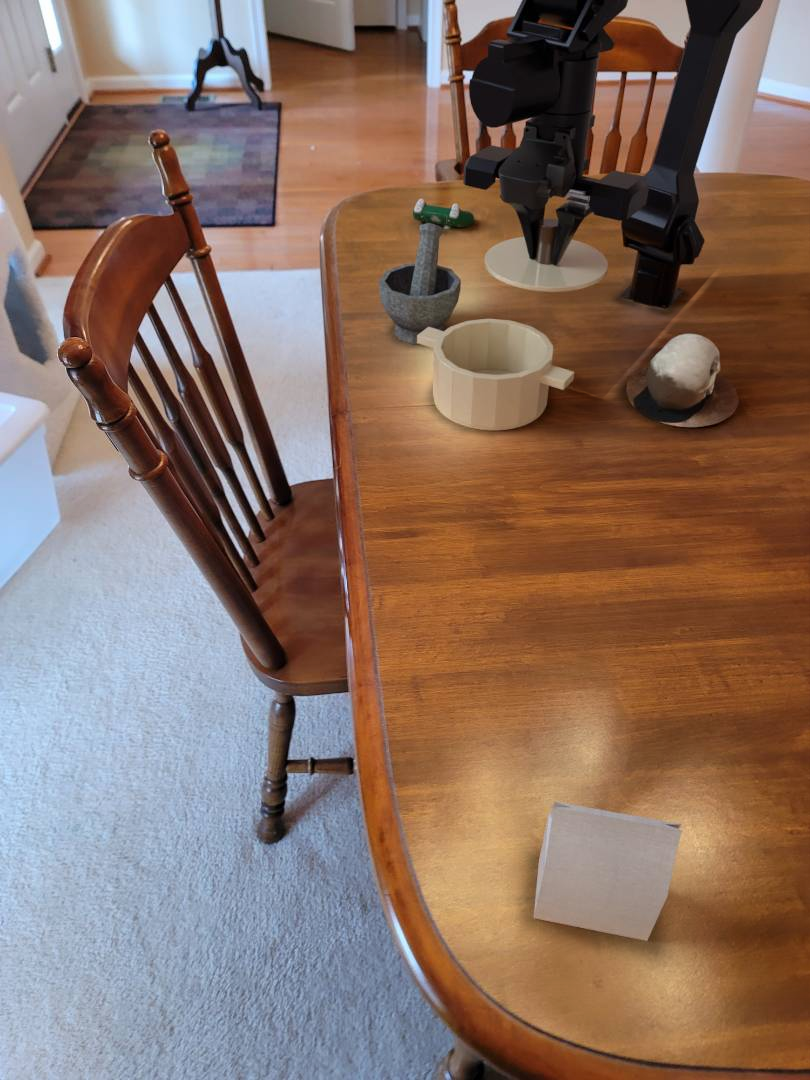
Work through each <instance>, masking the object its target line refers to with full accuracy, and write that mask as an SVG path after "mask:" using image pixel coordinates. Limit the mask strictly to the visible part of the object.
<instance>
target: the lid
mask: <svg viewBox="0 0 810 1080" xmlns="http://www.w3.org/2000/svg"><path fill="white" fill-rule="evenodd" d="M557 226H558V219H556V218H544V219H542V220H540V222H539V229H538V238H537V247H536V257H535V259H530V258H529V254H528V250H527V246H526V242H525V238H524V236H520V237H519V236H518V237H513V238H509V239H505V240H502V241H501V242H498V243H496V244H494V245H492V246H491V247H490V248H489V249H488V250H487V251H486V253H485V255H484V262H483V263H484V267H485V269H486V271H487V272H488V273H489V274H490V276H492V277H493V278H494V279H496V280H498V281H500V282H502V283H504V284H507V285H509V286H512V287H515V288H519V289H523V290H529V291H533V292H534V291H535V292H547V293H560V292H561V293H562V292H572V291H576V290H577V291H578V290H582V289H586V288H589V287H591V286H594V285H596V284H598V283H599V282H601V281H602V280H603V279H604V278H605V277H606V275H607V274H608V270H609V262H608V260H607V257H606V256H605V255H604V254H603V253H602V252H601V251H600V250H598V249H597V248H595V247H593V246H591V245H589V244H587V243H584V242H581V241H578V240H575V239H572V240H571V242H570V243H569V245H568V247H567V249H566V251H565V253H564V255H563V256H562V258H561V260H560V262H559V263H558V264H557V265H552V255H553V248H554V242H555V237H556V231H557Z"/></svg>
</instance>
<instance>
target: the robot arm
mask: <svg viewBox="0 0 810 1080" xmlns="http://www.w3.org/2000/svg"><path fill="white" fill-rule="evenodd" d="M684 2H685V7H686V11H687V17H688V21H689V26H690V28H689V33H688V35H687V39H686V43H685V46H684V50H683V54H682V58H681V61H680V64H679V68H678V72H677V76H676V78H675V82H674V87H673V91H672V93H671V97H670V101H669V103H668V108H667V112H666V114H665V119H664V123H663V125H662V126H663V127H662V128H661V129H662V130H661V134H660V137H659V139H658V144H657V147H656V151H655V154H654V159H653V162H652V164H651V166H650V168H649V170H647V172H646V173H645V174H644V175H640V174H634V173H629V172H626V171H620V170H615V169H613V170H612V171H610V172H609V173H607V174H606V175H604V176H603V177H601V178H600V179H599V178H594V177H590V176H586V175H583V173H584V172H585V171H586V170H588V169H589V164H590V163H589V162H590V158H588V157H586V153H587V147H588V146H587V145H588V137H589V131H590V129H592V128H593V127H595V121H596V114H592V108H593V103H594V102H593V101H594V94H595V86H596V80H597V73H598V72H597V71H598V65H599V57H600V53H605V52H608V51H612V50H613V49H614V48H615V41H614V40H613V39H612V37H611V36H610V35H609V34H608V33H607V32H606V30H605V27H606V26H607V25H609V24H610V23H611V22H612V21H613V20H615V18H616V17H618V16H619V15H620V14H621V13H622V12H623V11H624V10H625V9H626V8H627V6H628V3H629V0H521V2H520V4H519V6H518V8H517V9H516V12H515V15H514V16H513V19H512V20H511V23H510V24H509V27H508V28H507V31H506V38H507V39H506V40H503V39H494V40H490V41H489V42H488V43H487V56H486V57H484V58H483V59H481V60H480V61H479V62H478V63H477V64H476V66H475V68H474V70H473V72H472V75H471V78H470V79H469V82H468V84H469V85H468V95H469V101H470V106H471V108H472V111H473V113H474V115H475V117H476V118H477V120H478V121H479V122H480V123H482V125H484V126H485V127H488V128H492V129H493V128H500V127H503V126H507V125H512V124H514V123H515V124H516V123H518V122H521V121H522V122H523V121H525V120H526V121H525V126H524V128H523V134H522V137H521V141H520V144H519V145H518V146H517V147H515V148H514V149H511V148H507V147H502V146H497V145H489V146H487V147H485V148H482V149H481V150H479V151H478V152H476V153H474V154H472V155H470V156H469V157H468V158H467V159H466V162H465V163H464V166H463V176H462V177H463V179H462V184H464V186H466V187H471V188H475V189H480V190H484V191H487V190H489V189H490V188H491V187H492V186H493V185H494V184H495V183H496V182H497V181H496V180H497V179H498V180H499V190H500V195H499V198H500V200H501V201H502V202H503V203H505V204H508V205H510V206H511V207H512V208H513V210H514V211H515V213H516V215H517V217H518V220H519V223H520V227H521V230H522V234H523V237H524V238H525V242H526V246H527V250H528V254H529V258H530V259H535V257H536V247H537V238H538V229H539V222H540V220H542V219H545V213H546V205H547V204H548V203H549V200H550V199H551V198H553V197H558V198H562V199H563V198H565V199H566V202H565V203H563V204H562V205H560V206H559V207H557V208H556V209H555V214H556V217H557V220H558V226H557V231H556V237H555V242H554V248H553V255H552V265H557V264H558V263H559V262H560V260H561V258H562V256H563V255H564V253H565V251H566V249H567V247H568V245H569V243H570V242H571V240H573V238H574V236H575V234H576V232H577V230H578V229H579V227H580V226H581V224H582V222H583V221H584V220H585V218H587V217H588V216H589V215H591V214H592V213H593V215H594V216H597V217H602V218H605V219H610V220H615V221H621V222H620V223H621V224H620V228H621V234H622V246H623V247H624V248H629V249H631V250H634V251H636V257H635V263H634V266H633V273H632V279H631V284H630V285H629V286H628V287H627V288H626V289H625V290H624V291H623V292H622V293H621V294H620V297H621V298H622V299H625V300H630V301H633V302H635V303H639V304H643V305H646V306H651V307H652V306H653V307H657V308H660V309H664V310H665V309H668V308H669V307H670V306H671V305H672V304H673V303H674V302H675V301H676V300H677V299H678V298H679V296H680V295H682V294H683V292H684V290H683V288H679V287H677V284H678V279H679V275H680V271H681V268H682V267H681V266H683V265H684V266H685V265H693V264H694V263H695V259H697V258H698V257H700V254H701V252H702V249H703V247H704V244H705V238H704V235H703V234H702V232H701V230H700V228H699V226H698V224H697V222H696V217H697V211H698V208H699V205H700V204H699V203H700V198H699V194H698V190H697V185H696V184H697V183H696V180H695V170H696V167H697V164H698V160H699V157H700V154H701V151H702V147H703V145H704V141H705V138H706V135H707V131H708V128H709V124H710V121H711V119H712V115H713V112H714V108H715V105H716V102H717V99H718V95H719V92H720V89H721V86H722V83H723V79H724V77H725V73H726V70H727V66H728V63H729V61H730V56H731V54H732V50H733V47H734V44H735V41H736V37H737V35H738V33H739V32H740V31H741V30H742V29H743V28H744V27H745V26H746V25H747V23H748V22H750V20H751V19H752V18H753V17H754V16H755V15H756V14H757V12H758V11H759V10H760V9H761V7H762V5H763V2H764V0H684ZM540 20H541V22H539V21H540Z"/></svg>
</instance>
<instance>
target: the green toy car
mask: <svg viewBox="0 0 810 1080" xmlns="http://www.w3.org/2000/svg"><path fill="white" fill-rule="evenodd" d="M412 216H413V219H414V220H415V221H418V222H419V223H424V224H434V225H439V226H440V225H442V226H443V229H446V230H450V229H453V228H464V227H465V228H467V227H468V226H471V225H472V224H473V223H474V222H475V215H474V214H473V213H472V212H470V211H468V210H462V209H461V208H460V207H459V204H458V203H456V202H455V203H453V204H452V206H451V207H444V206H437V205H429V204H427V203H426V202H425V201H424V198H418V200H417V201H416V204H415V206H414V207H413V209H412Z"/></svg>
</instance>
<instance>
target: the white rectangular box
mask: <svg viewBox="0 0 810 1080" xmlns="http://www.w3.org/2000/svg"><path fill="white" fill-rule="evenodd" d="M681 826H682V823H677V822H673V821H672V822H671V821H665V820H660V819H654V818H649V817H643V816H638V815H633V814H626V813H621V812H615V811H609V810H603V809H599V808H593V807H587V806H581V805H576V804H571V803H565V802H560V801H554V803H553V806H552V808H551V810H550V812H548V815H547V821H546V826H545V830H544V834H543V840H542V844H541V849H540V855H539V859H538V866H537V878H536V886H535V887H536V888H535V899H534V900H535V901H534V909H533V919H535V920H541V921H546V922H551V923H555V924H560V925H565V926H571V927H575V928H581V929H585V930H590V931H595V932H600V933H605V934H610V935H615V936H620V937H624V938H629V939H635V940H642V941H645V942H648V940H649V938H650V936H651V933H652V932H653V929H654V926H655V924H656V923H657V920H658V918H659V916H660V913H661V912H662V909H663V907H664V905H665V903H666V900H667V898H668V895H669V891H670V886H671V880H672V877H673V870H674V867H675V861H676V857H677V852H678V847H679V844H680V839H681V836H682V832H683V829H680V828H681Z"/></svg>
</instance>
